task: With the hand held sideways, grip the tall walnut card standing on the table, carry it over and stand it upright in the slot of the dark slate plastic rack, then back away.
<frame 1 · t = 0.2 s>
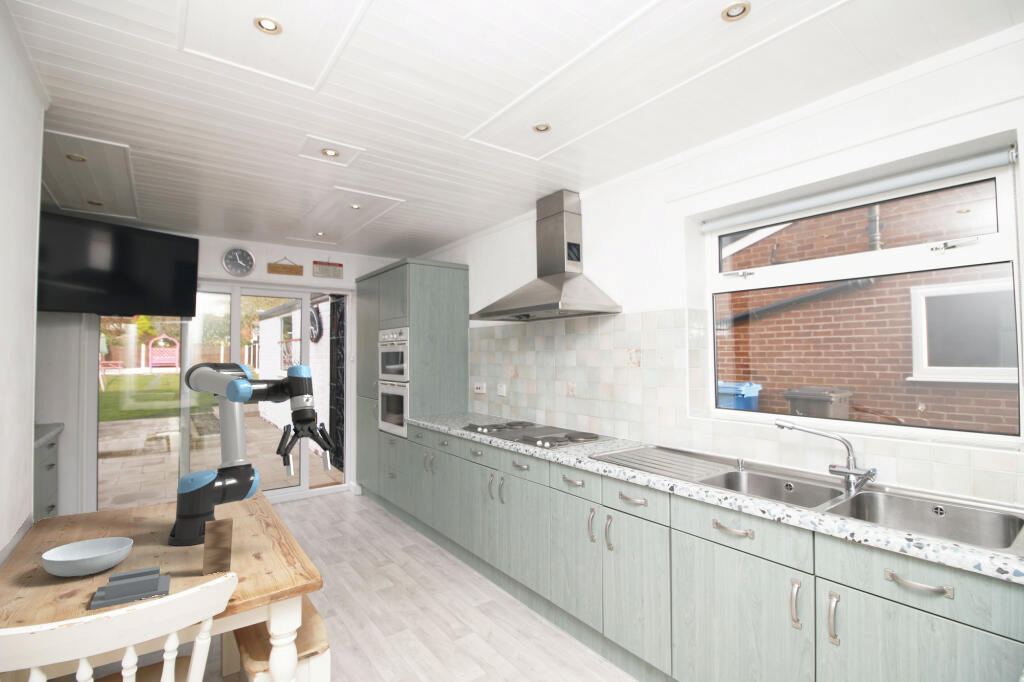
hand: (309, 473, 160), 27 cm above the table, tool tilted 15°, fingers open, 13 cm apart
walnut card: (216, 572, 145), on the table
slotted rack: (133, 593, 130), on the table
serving bowl: (87, 571, 145), on the table
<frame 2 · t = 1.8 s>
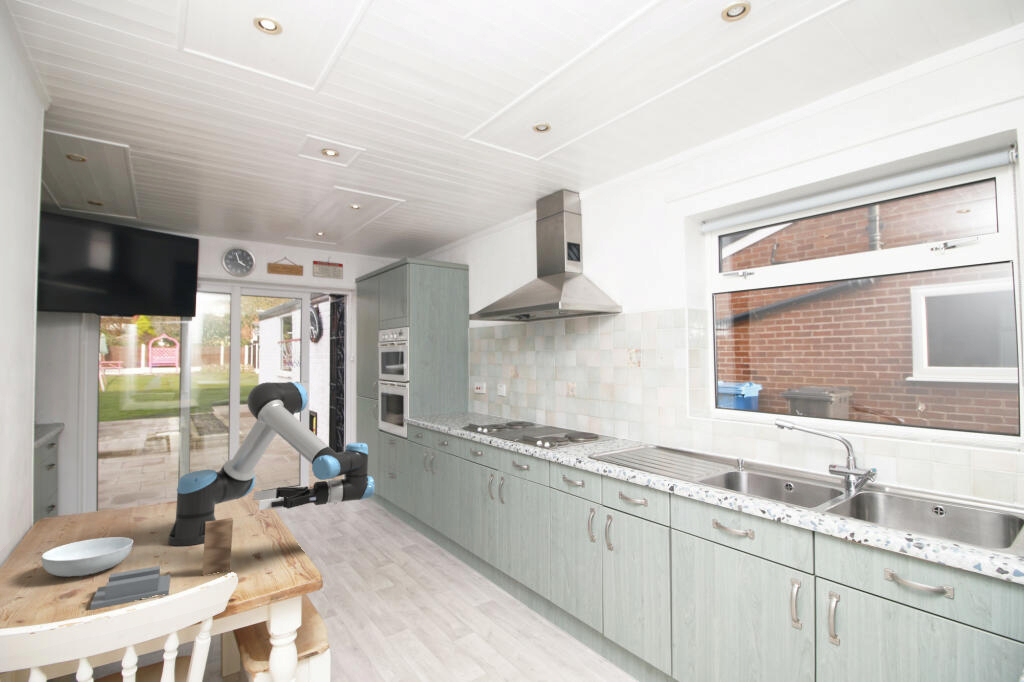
hand: (256, 500, 152), 20 cm above the table, tool horizontal, fingers open, 13 cm apart
nothing on the table moved.
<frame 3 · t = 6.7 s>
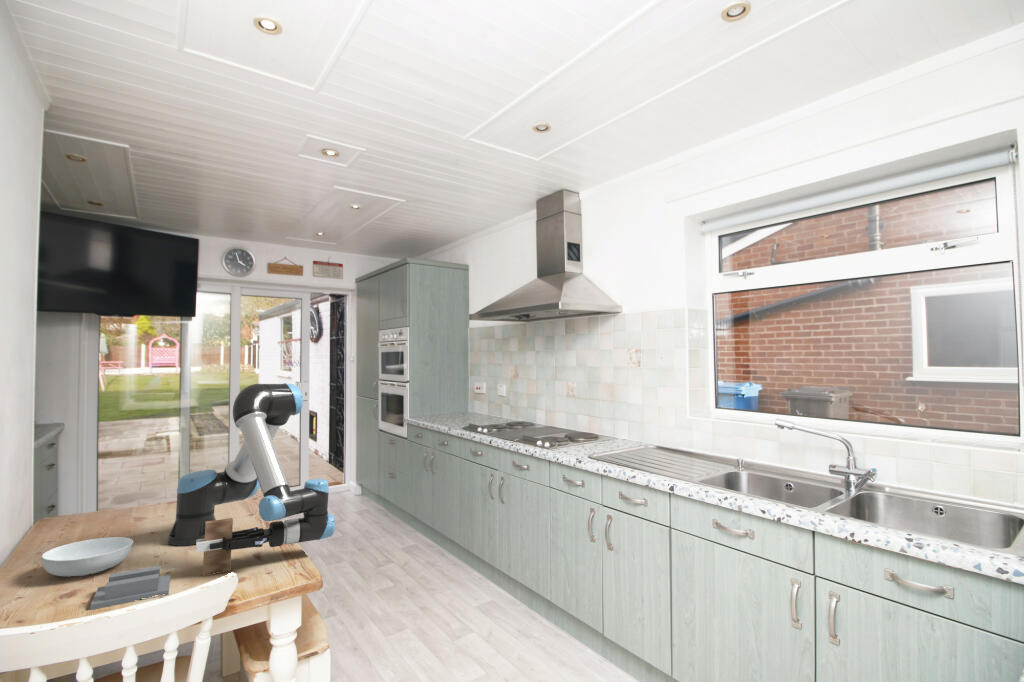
hand: (196, 546, 143), 9 cm above the table, tool horizontal, fingers closed on walnut card, 2 cm apart
walnut card: (216, 572, 145), on the table, touching gripper
everything else where it was.
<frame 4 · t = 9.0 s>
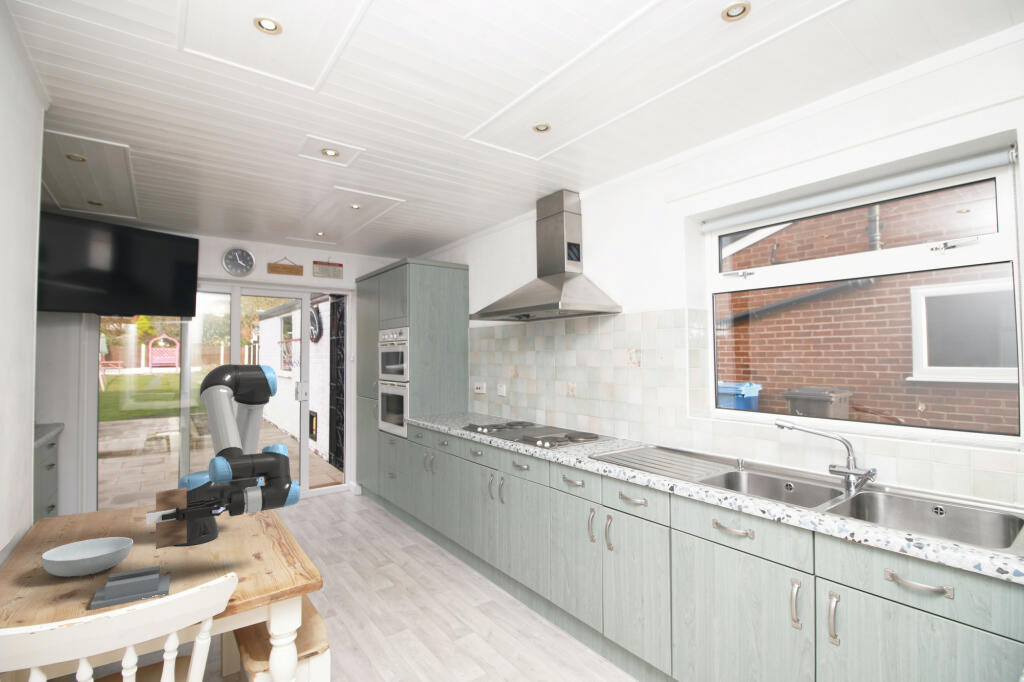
hand: (146, 517, 132), 20 cm above the table, tool horizontal, fingers closed on walnut card, 2 cm apart
walnut card: (171, 544, 135), point 11 cm above the table, touching gripper
everything else where it was.
when the fingers open (11 cm above the table, at t = 11.2 s): walnut card moves 1 cm, resting on slotted rack.
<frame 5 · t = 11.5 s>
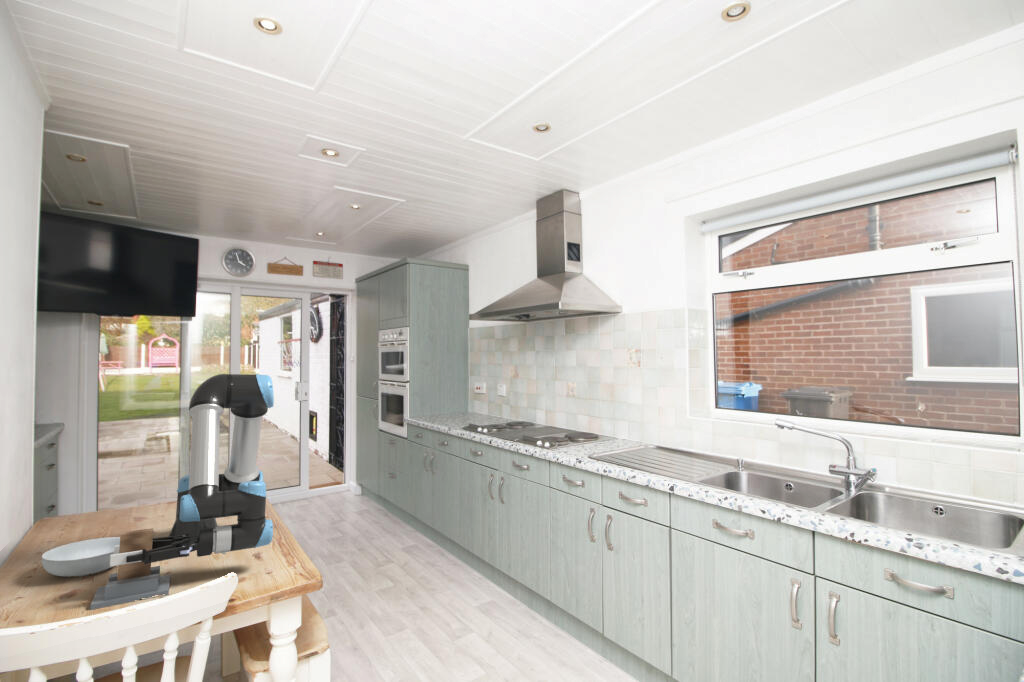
hand: (112, 555, 128), 11 cm above the table, tool horizontal, fingers open, 7 cm apart
walnut card: (133, 588, 131), point 1 cm above the table, touching slotted rack
everything else where it was.
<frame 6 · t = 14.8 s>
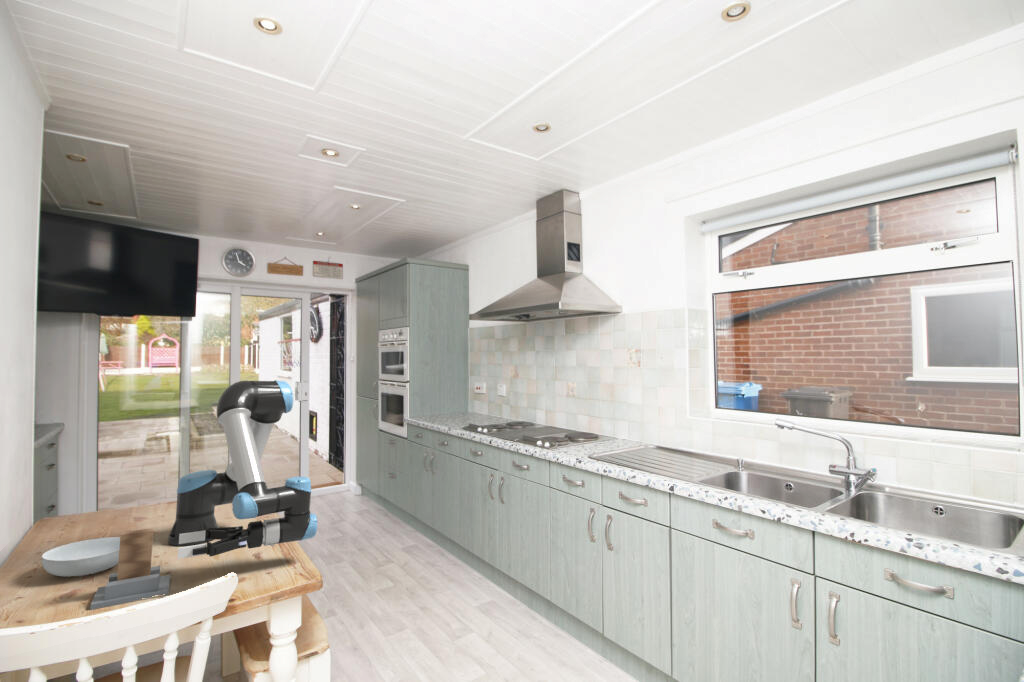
hand: (178, 545, 136), 11 cm above the table, tool horizontal, fingers open, 13 cm apart
nothing on the table moved.
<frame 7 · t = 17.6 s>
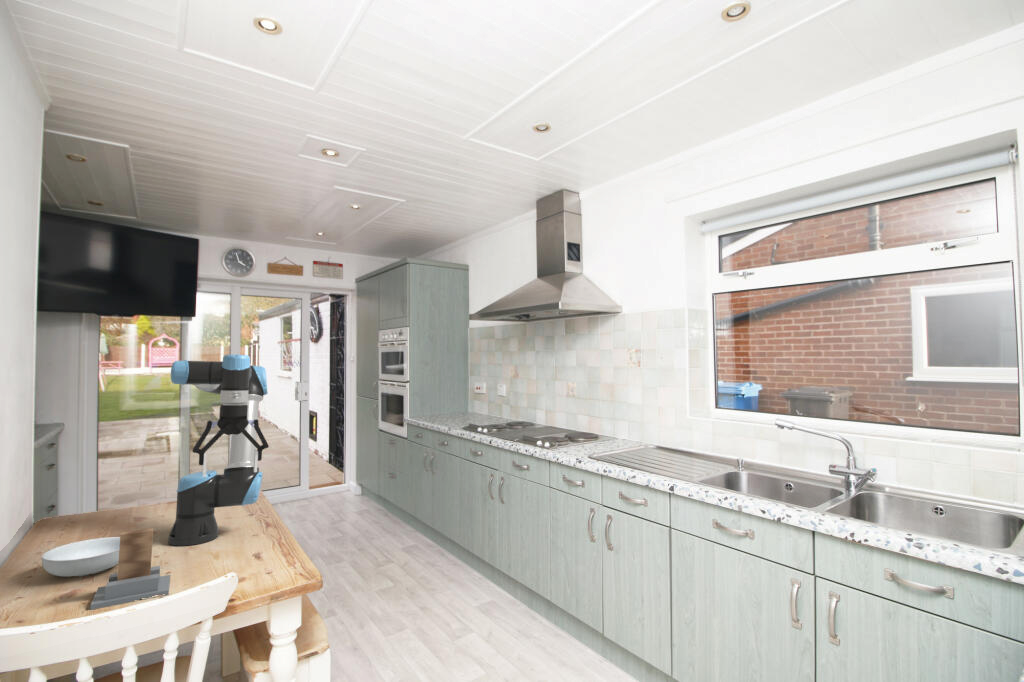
hand: (230, 473, 149), 29 cm above the table, tool pointing down, fingers open, 13 cm apart
nothing on the table moved.
at the end: walnut card 0.2 cm off-centre on the slotted rack, point 1.2 cm above the slotted rack's base; walnut card tilted 0°; the gripper is holding nothing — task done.
